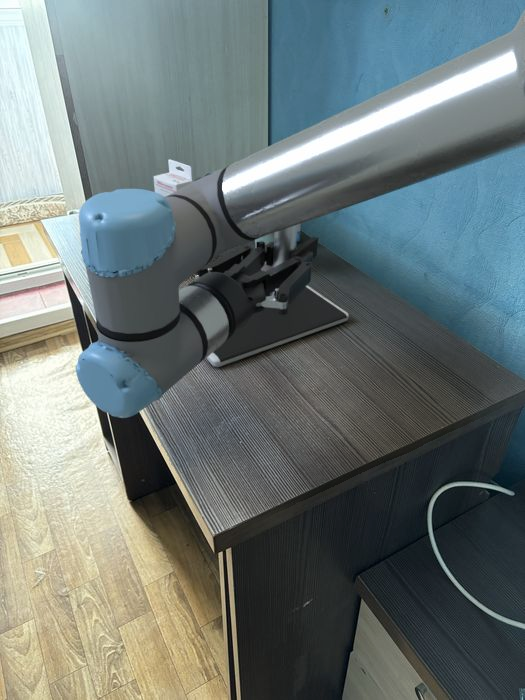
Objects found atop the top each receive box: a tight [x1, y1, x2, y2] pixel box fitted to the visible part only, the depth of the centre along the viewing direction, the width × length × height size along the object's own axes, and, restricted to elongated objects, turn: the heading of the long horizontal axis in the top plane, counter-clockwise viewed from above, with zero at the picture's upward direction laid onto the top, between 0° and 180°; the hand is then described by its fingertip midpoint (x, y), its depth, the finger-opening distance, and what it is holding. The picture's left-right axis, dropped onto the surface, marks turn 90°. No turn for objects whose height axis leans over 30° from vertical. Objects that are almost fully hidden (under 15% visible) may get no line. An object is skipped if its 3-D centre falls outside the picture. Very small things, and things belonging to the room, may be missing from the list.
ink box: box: [153, 158, 194, 197], centre depth 120 cm, size 8×5×15 cm, turn 47°
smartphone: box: [205, 285, 350, 368], centre depth 89 cm, size 13×27×2 cm, turn 123°
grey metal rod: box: [271, 225, 298, 294], centre depth 70 cm, size 3×3×13 cm
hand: (303, 243), depth 73 cm, fingers closed on grey metal rod, 3 cm apart
